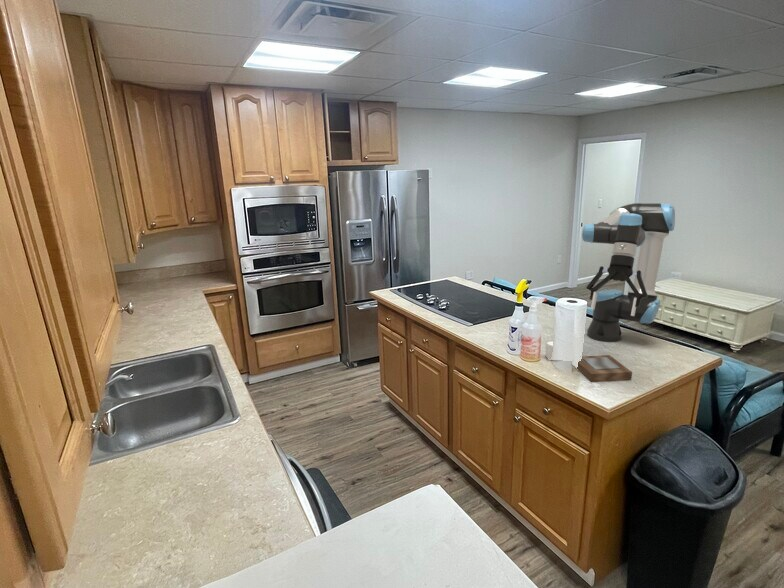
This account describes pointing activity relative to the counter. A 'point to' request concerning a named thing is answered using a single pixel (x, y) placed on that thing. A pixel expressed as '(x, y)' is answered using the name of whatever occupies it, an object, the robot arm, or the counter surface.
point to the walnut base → (603, 369)
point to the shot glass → (549, 349)
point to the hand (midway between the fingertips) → (611, 312)
